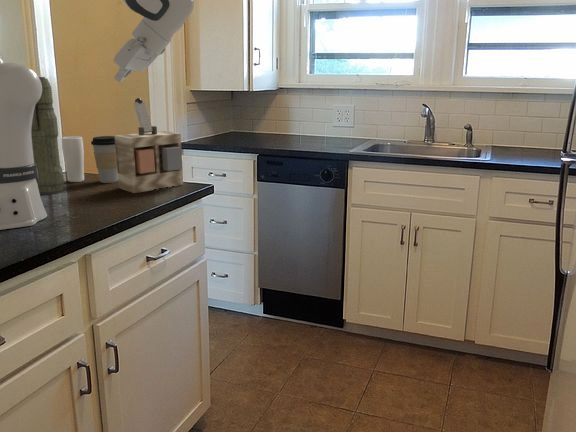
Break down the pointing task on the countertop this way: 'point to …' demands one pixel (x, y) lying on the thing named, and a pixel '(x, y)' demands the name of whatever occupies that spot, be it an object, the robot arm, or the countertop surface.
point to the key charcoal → (171, 158)
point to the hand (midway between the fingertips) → (117, 80)
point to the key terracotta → (144, 160)
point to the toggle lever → (143, 115)
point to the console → (160, 177)
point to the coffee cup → (105, 158)
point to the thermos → (46, 143)
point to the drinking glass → (73, 157)
